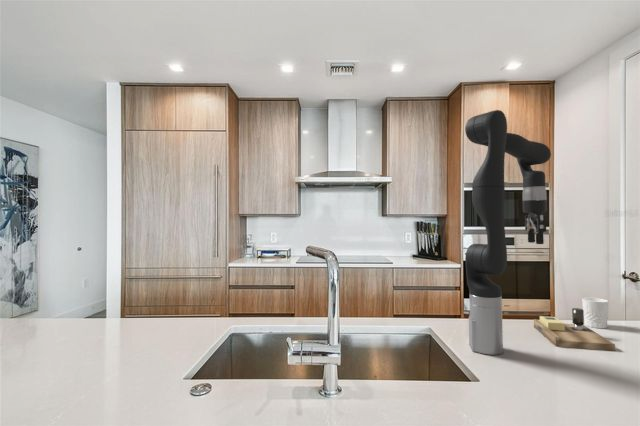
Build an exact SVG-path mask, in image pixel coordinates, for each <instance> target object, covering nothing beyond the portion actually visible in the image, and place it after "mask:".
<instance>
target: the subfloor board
mask: <svg viewBox="0 0 640 426" xmlns="http://www.w3.org/2000/svg"><path fill="white" fill-rule="evenodd" d="M533 328H534V329H535V330H536V331H538V332H539V333H540V334H541V336H543V337H545V338H546V339H547V341H549V342H551V344H552V345H553V346H555V347H558V348H559V347H560V348H572V349H573V348H574V349H585V350H586V349H587V350H599V351H610V352H611V351H612V352H613V351H614V352H616V343H613V342H612V341H611V340H609V339H607V338H605V337H603V336H602V335H601V334H599V333H597V332H596V331H594V330H592V329H591V328H589V327H588V326H586V325H585V324H584V325H583V331H574V323H565V331H561V330H549V329H548V328H547V327H546V326H544V325H543V324H542V323H541V322H540V320H538V318H537V319H536V318H534V319H533Z"/></svg>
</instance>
